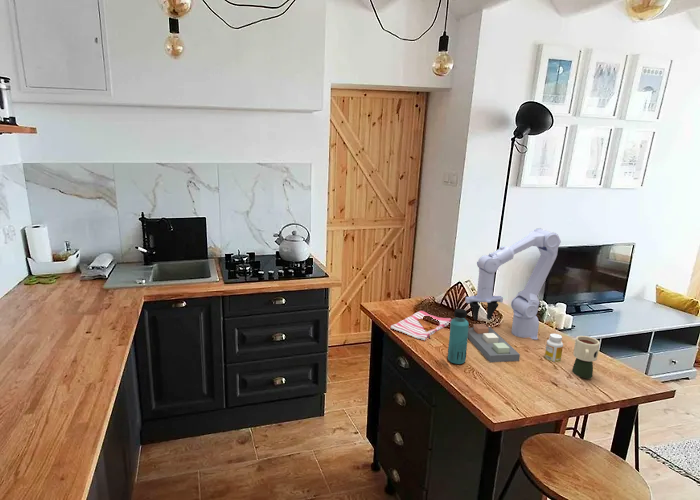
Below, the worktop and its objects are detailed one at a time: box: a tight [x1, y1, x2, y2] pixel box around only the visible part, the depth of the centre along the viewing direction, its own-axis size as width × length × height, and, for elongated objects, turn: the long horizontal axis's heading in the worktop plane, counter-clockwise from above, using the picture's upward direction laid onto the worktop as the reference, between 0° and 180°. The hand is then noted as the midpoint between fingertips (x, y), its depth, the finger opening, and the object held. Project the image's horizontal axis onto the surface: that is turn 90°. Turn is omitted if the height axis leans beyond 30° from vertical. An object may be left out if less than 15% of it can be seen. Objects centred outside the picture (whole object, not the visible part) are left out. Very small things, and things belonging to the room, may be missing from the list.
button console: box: [467, 326, 521, 363], centre depth 169 cm, size 11×24×4 cm, turn 8°
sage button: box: [493, 343, 510, 354], centre depth 160 cm, size 4×4×3 cm
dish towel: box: [390, 310, 453, 342], centre depth 188 cm, size 17×23×4 cm
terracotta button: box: [473, 323, 489, 334], centre depth 177 cm, size 4×4×3 cm
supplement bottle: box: [544, 333, 564, 363], centre depth 160 cm, size 5×5×10 cm
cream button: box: [483, 333, 499, 343], centre depth 168 cm, size 4×4×3 cm
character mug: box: [571, 335, 601, 379], centre depth 150 cm, size 11×7×13 cm, turn 154°
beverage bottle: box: [447, 308, 470, 365], centre depth 155 cm, size 6×7×20 cm
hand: (482, 319), depth 176 cm, fingers open, 5 cm apart
